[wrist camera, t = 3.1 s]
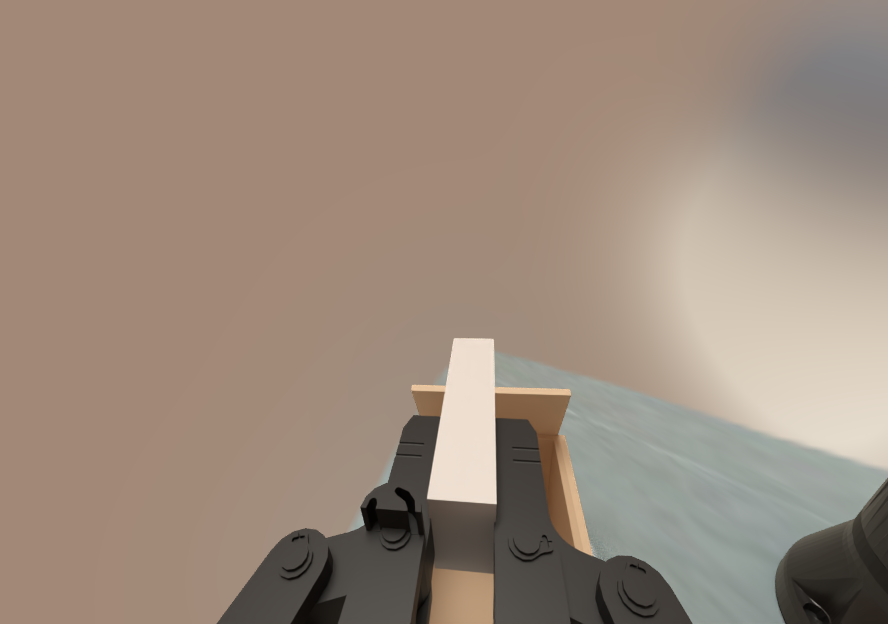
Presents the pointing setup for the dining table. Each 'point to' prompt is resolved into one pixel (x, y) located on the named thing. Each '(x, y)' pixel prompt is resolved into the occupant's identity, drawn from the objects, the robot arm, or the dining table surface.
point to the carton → (471, 593)
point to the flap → (507, 405)
